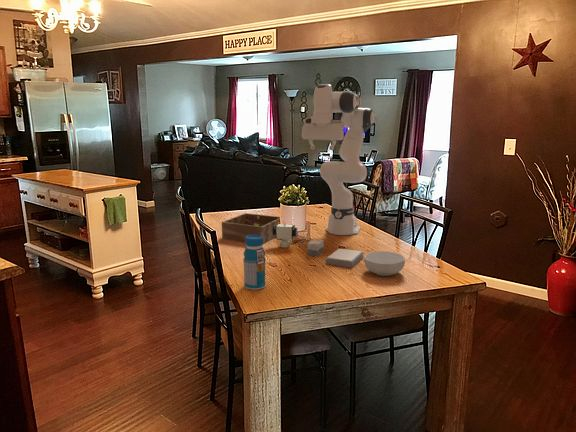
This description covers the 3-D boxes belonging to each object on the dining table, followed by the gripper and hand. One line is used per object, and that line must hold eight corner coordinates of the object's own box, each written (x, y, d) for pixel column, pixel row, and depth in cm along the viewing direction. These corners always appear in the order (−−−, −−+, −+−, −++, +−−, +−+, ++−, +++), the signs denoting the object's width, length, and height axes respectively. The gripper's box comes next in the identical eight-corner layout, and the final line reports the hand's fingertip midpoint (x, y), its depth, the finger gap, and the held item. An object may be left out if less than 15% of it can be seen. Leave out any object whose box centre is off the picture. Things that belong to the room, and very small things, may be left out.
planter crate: (245, 228, 270) (245, 213, 268) (283, 233, 260) (283, 217, 258) (222, 238, 249) (221, 222, 247) (262, 244, 239) (261, 227, 237)
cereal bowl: (372, 263, 210) (373, 248, 208) (409, 270, 202) (410, 254, 200) (357, 275, 196) (358, 259, 194) (396, 282, 187) (397, 266, 186)
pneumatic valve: (295, 248, 232) (295, 225, 229) (272, 247, 234) (272, 223, 231) (297, 245, 237) (297, 222, 234) (275, 244, 239) (274, 221, 237)
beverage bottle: (243, 290, 179) (242, 239, 175) (244, 282, 188) (243, 233, 183) (265, 290, 180) (265, 239, 175) (265, 282, 188) (265, 233, 183)
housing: (313, 250, 229) (314, 238, 228) (323, 252, 227) (323, 240, 226) (307, 255, 222) (307, 243, 221) (317, 256, 220) (317, 244, 218)
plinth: (338, 253, 224) (338, 247, 223) (362, 257, 219) (363, 251, 218) (325, 263, 210) (326, 257, 209) (351, 267, 205) (352, 261, 204)
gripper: (346, 119, 219) (345, 149, 223) (305, 119, 228) (305, 148, 231) (341, 120, 214) (340, 151, 217) (300, 119, 223) (300, 149, 226)
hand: (322, 149), depth 224 cm, fingers open, 8 cm apart
